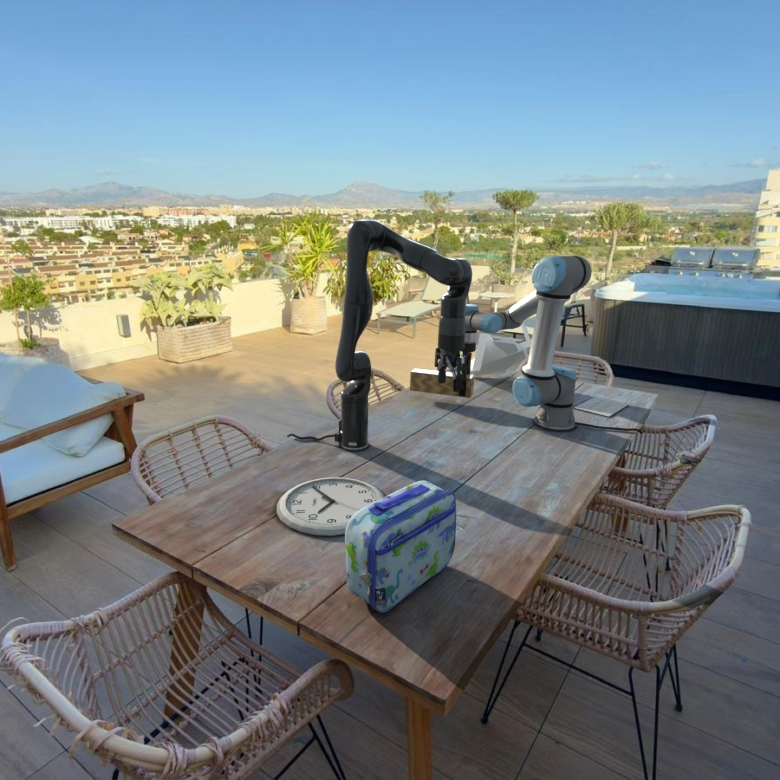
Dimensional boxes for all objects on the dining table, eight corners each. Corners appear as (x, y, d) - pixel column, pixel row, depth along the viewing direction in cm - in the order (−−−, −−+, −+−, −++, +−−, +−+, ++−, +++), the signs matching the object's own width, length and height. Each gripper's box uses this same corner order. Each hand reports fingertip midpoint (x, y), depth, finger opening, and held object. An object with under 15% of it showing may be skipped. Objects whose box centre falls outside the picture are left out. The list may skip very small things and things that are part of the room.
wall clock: (392, 527, 129) (268, 531, 127) (391, 533, 130) (269, 537, 127) (383, 473, 158) (282, 475, 155) (383, 478, 158) (282, 480, 156)
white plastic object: (486, 418, 267) (465, 395, 242) (467, 346, 289) (447, 318, 264) (556, 394, 255) (543, 367, 230) (531, 321, 277) (516, 289, 252)
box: (472, 394, 229) (474, 375, 226) (470, 398, 224) (471, 378, 221) (413, 386, 237) (414, 368, 234) (409, 390, 232) (410, 371, 229)
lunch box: (374, 626, 100) (375, 530, 93) (338, 598, 107) (337, 508, 101) (459, 568, 117) (465, 484, 111) (424, 547, 124) (427, 467, 118)
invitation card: (608, 416, 214) (573, 407, 224) (608, 416, 214) (573, 408, 224) (628, 404, 229) (594, 396, 238) (628, 405, 229) (594, 397, 238)
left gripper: (428, 328, 151) (426, 381, 156) (452, 337, 139) (449, 395, 144) (450, 326, 154) (448, 379, 159) (476, 335, 142) (473, 392, 147)
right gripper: (462, 336, 230) (459, 386, 237) (453, 345, 213) (450, 399, 220) (479, 337, 228) (475, 388, 235) (472, 347, 210) (468, 401, 217)
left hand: (448, 387), depth 151 cm, fingers open, 8 cm apart
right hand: (463, 393), depth 227 cm, fingers closed on box, 6 cm apart
